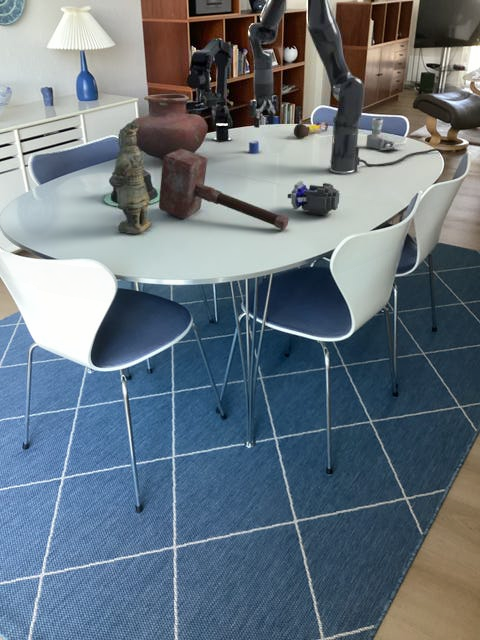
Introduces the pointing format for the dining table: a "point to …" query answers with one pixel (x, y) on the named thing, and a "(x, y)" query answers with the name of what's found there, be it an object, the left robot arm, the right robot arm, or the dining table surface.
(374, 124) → the grey boot
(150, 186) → the chocolate cake
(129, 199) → the statue
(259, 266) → the dining table surface
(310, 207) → the toy
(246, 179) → the dining table surface
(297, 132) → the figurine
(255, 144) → the canister
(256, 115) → the right robot arm
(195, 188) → the sledgehammer
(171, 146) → the clay pot
